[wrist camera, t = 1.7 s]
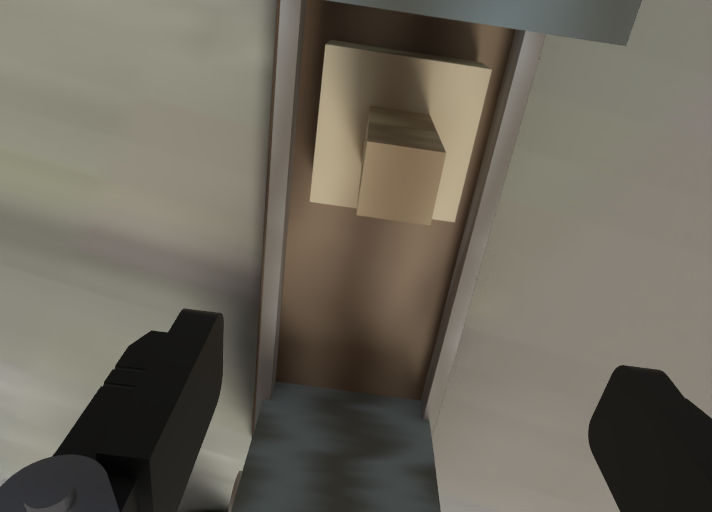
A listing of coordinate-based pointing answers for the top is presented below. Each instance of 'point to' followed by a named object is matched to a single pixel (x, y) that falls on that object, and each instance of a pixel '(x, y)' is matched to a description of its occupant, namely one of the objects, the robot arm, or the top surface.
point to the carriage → (396, 131)
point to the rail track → (378, 260)
